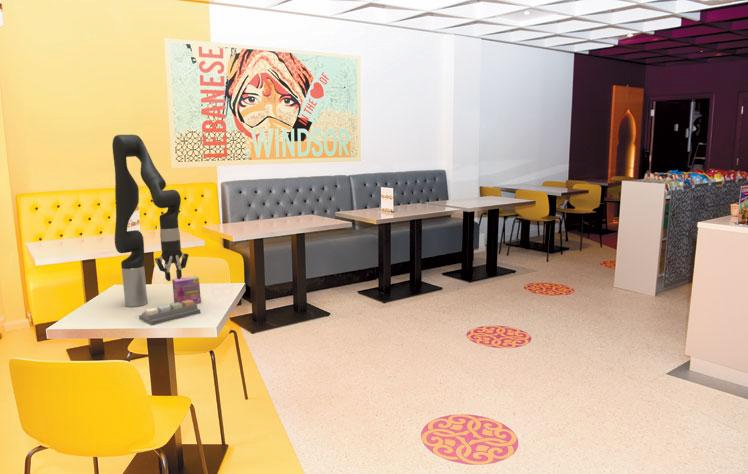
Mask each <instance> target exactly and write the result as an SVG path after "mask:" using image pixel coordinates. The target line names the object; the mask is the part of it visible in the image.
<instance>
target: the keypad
mask: <svg viewBox="0 0 748 474" xmlns="http://www.w3.org/2000/svg"><path fill="white" fill-rule="evenodd" d="M182 307H183V308H178V309H174V310H173V309H171V308H170V309H171V310H170V311H166V312H159V311H158V313H157V314H153V315H147V314H145V311H144V312H142V313H141V314H139V315H138V319H139V320H141V321H143V323H146V324H148V325H150V326H154V325H158V324H162V323H166V322H171V321H174V320H179V319H182V318H187V317H191V316H194V315H200V314H201V309H200V308H198V303H197V304H195V303H194V305H191V306H187V307H184V306H182Z"/></svg>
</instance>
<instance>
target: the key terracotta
mask: <svg viewBox="0 0 748 474" xmlns="http://www.w3.org/2000/svg"><path fill="white" fill-rule="evenodd" d="M181 304H182V306H184V307H187V306H191V305H194V301H192V300H186V301H181Z"/></svg>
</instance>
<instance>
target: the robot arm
mask: <svg viewBox="0 0 748 474" xmlns="http://www.w3.org/2000/svg"><path fill="white" fill-rule="evenodd" d="M112 156H113V164H114V179H115V181H114V182H115V186H114V187H115V188H114V190H115V191H114V196H115V229H114V230H115V231H114V246H115V250H116V251H117V252H118V253H120V254H126V253H127V254H128V253H130V254H129V256H127V257H126V258H124V259H123V260H122V261H121V263H120V265H121V276H122V284H123V285H122V286H123V296H124V306H125V307H128V308H134V307H136V308H137V307H141V306H144V305H147V304H148V292H147V284H146V283H147V282H146V274H145V243H144V242H145V241H144V236H143V234H142V231H140V230H128V225H129V222H130V220H131V218H132V216H133V214H134V213H135V211H136V209H137V208H138V205H139V203H140V201H139V200H140V197H139V196H140V195H139V194H140V191H139V190H140V189H139V185H138V184H137V182H136V180H135V179H134V177H133V176H132V174H131V173H130V171H129V168H128V163H127V162H128V161H127V158H130V157H131V158H132V157H133V158H134V157H136V158H137V159H138V161H139V162H140V178H141V179H142V181H143V183H144V184H145V186H146V187H147V188H148V190H149V193H150V195H151V199H152V202H153V205H154V206H155V207H157V208H158V209H167V210H166V212H164V213H162V214H160V215H159V229H160V232H159V237H160V246H161V247H160V249H161V250H160V251H161V255H160V256H158V257H155V258H154V261H155V263H156V266H157V267H158V270H159V271H161V272H163V273H164V277H165V281H167V282H171V281H172V279H171V272H170V270H171V266H172V264H174V266H175V268H176V270H175V272H176V279H181V278H183V277H182V276H183V275H182V273H183V272H182V270H183V269H185V268H186V266H187V263H188V260H189V253H186V252H185V253H183V252H182V250H181V249H182V246H181V234H180V229H179V228H180V227H179V212H180V209H181V204H182V203H181V202H182V198H181V194H180V192H179V191H178V190H176V189H166V190H165V188H166V186H167V183H166V180H165V179H164V178H163V176H162V175H161V173H160V172H159V170H158V169H157V167H156V166H155V164H154V162H153V160H152V158H151V156H150V153H149V151H148V149H147V148H146V144H145V143H144V141H143V139H142V138H141V137H140V136H139V135H137V134H116V135H114V137H113V139H112ZM180 259H181V261H180ZM163 261H164V265H163Z"/></svg>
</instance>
